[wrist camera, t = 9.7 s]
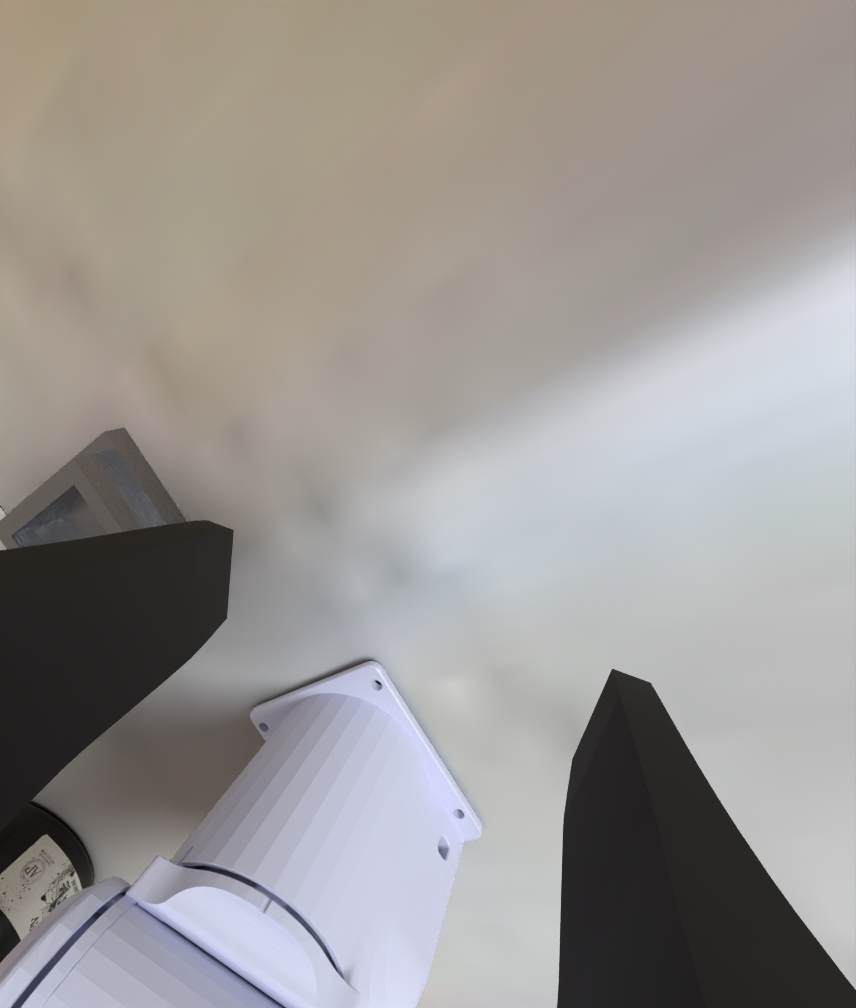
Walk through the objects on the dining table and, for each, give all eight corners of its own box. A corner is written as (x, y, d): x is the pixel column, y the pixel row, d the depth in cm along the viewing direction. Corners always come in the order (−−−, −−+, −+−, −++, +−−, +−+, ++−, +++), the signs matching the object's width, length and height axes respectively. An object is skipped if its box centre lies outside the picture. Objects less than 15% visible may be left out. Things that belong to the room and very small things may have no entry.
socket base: (225, 580, 24) (186, 606, 22) (123, 637, 27) (80, 665, 25) (124, 427, 23) (72, 438, 21) (30, 505, 26) (-23, 522, 24)
